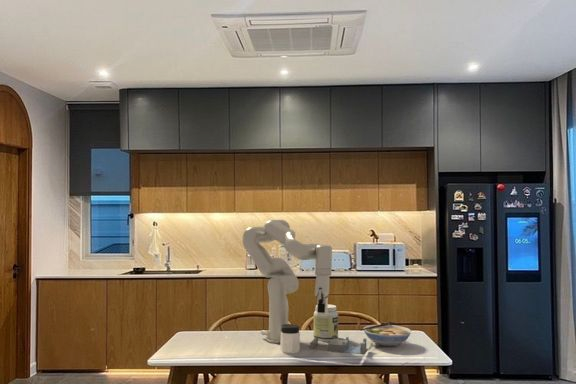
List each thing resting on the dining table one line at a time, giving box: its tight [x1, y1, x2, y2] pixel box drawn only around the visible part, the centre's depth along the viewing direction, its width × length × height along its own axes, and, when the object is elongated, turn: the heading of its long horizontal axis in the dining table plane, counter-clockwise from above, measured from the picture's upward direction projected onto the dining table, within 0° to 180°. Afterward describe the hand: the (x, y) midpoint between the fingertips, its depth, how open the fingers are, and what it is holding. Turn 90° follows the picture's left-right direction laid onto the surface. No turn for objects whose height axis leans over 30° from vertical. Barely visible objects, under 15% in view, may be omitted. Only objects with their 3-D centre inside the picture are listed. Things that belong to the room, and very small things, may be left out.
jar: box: [279, 323, 301, 354], centre depth 225 cm, size 9×8×12 cm
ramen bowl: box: [360, 321, 413, 348], centre depth 240 cm, size 25×23×8 cm
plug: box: [316, 296, 329, 316], centre depth 232 cm, size 4×4×8 cm
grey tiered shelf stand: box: [309, 336, 367, 355], centre depth 228 cm, size 24×10×6 cm, turn 73°
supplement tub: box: [313, 303, 339, 342], centre depth 248 cm, size 12×12×17 cm
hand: (322, 311), depth 232 cm, fingers closed on plug, 4 cm apart
